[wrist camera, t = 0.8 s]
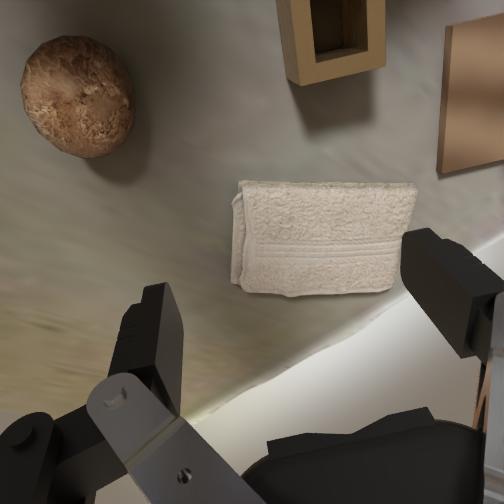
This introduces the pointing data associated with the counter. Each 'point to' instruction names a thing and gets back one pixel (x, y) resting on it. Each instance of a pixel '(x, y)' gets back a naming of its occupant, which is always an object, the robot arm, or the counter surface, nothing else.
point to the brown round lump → (79, 96)
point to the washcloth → (318, 236)
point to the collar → (339, 60)
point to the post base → (472, 95)
